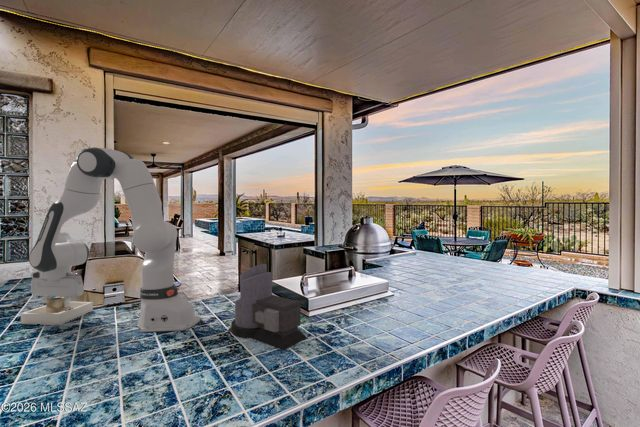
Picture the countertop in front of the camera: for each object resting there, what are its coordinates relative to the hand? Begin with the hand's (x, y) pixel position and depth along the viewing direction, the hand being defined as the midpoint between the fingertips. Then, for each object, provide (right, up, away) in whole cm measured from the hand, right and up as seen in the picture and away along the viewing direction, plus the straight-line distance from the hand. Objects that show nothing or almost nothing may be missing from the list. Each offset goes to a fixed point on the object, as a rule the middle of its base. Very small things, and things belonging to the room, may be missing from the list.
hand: (58, 306), depth 130 cm
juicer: (+86, -5, -16) cm, 88 cm away
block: (0, -2, 0) cm, 2 cm away
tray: (0, -4, 0) cm, 4 cm away
